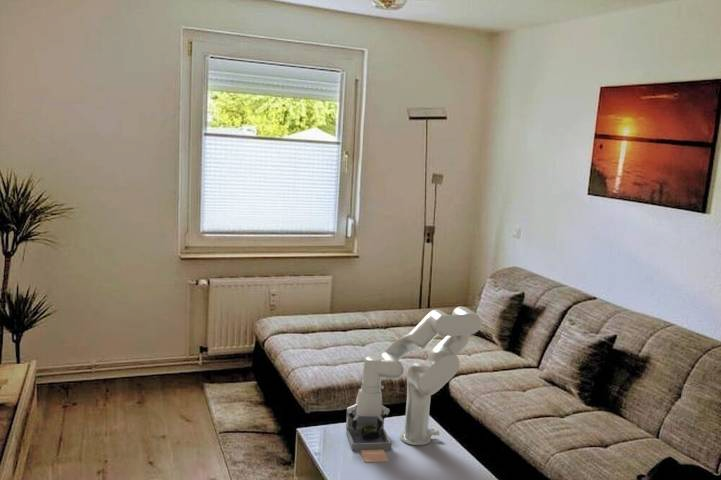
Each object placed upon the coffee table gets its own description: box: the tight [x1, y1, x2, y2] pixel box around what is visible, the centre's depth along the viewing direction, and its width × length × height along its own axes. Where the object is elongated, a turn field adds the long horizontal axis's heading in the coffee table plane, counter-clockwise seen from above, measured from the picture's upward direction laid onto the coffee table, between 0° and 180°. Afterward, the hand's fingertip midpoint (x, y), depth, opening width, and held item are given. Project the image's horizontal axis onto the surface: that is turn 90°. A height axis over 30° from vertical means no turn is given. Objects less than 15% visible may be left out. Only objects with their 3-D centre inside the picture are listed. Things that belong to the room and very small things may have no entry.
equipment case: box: [345, 409, 392, 451], centre depth 244 cm, size 16×15×10 cm
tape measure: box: [361, 425, 381, 441], centre depth 246 cm, size 7×7×4 cm
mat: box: [360, 449, 390, 463], centre depth 232 cm, size 9×9×1 cm
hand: (366, 429), depth 243 cm, fingers open, 9 cm apart
